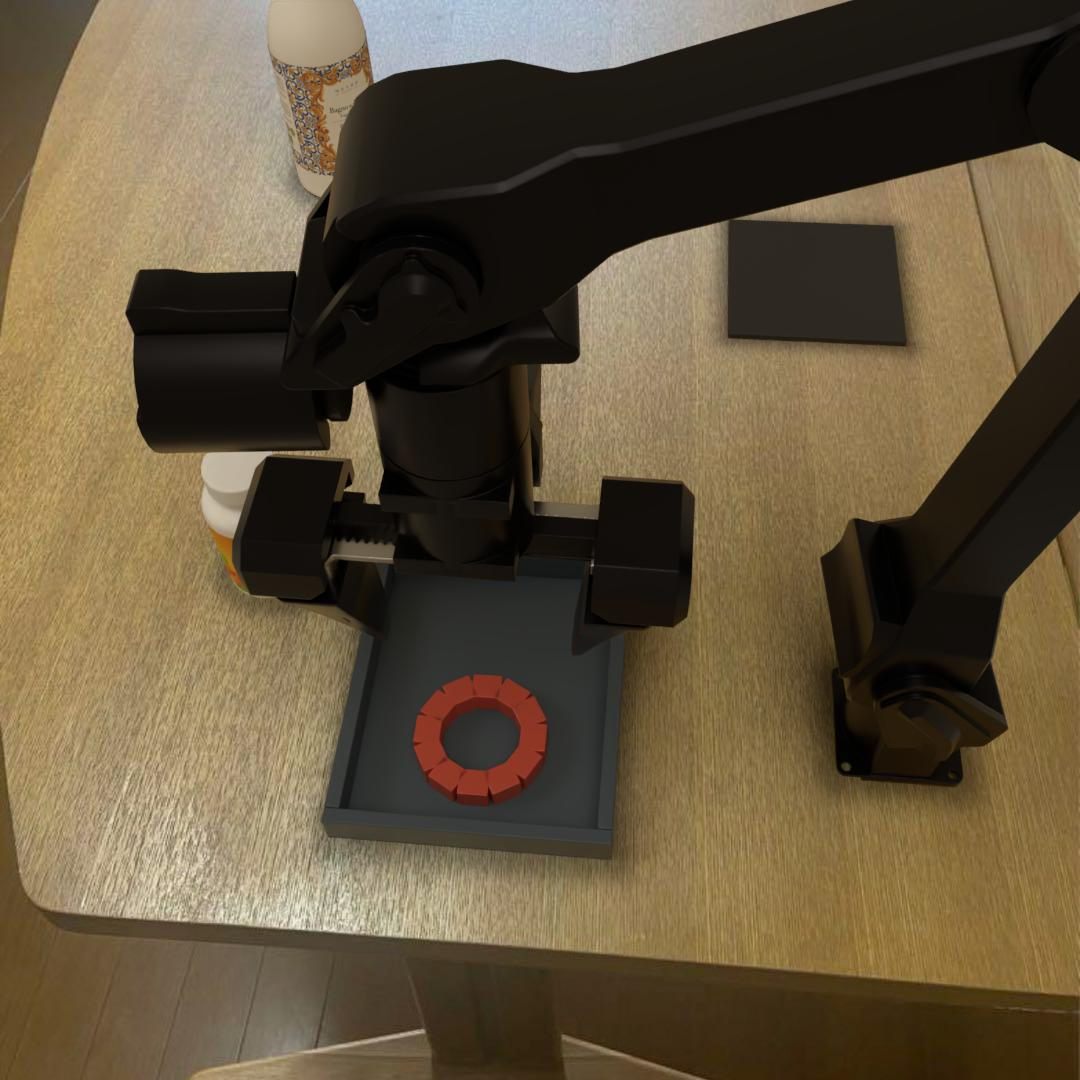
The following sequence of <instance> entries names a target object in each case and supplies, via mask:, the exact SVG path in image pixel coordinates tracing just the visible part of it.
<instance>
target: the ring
mask: <svg viewBox="0 0 1080 1080" xmlns="http://www.w3.org/2000/svg"><path fill="white" fill-rule="evenodd" d="M442 688H443V692H442V691H440V690H437V691H436V692H435V693H434V694H433V696H432V697H431V698H430V699H429V700H428V701H427V703H426V704H425V705H424V706H423V707H422V709H421V710H420V713H421V715H418V716H417V720H416V726H415V732H414V737H413V743H414V751H415V755H416V759H417V761H418V763H419V765H420V768H421V770H422V772H423V775H424V777H425V779H426V782H429V783H430V786H431V787H432V788H433V789H435V790H436V791H438V792H439V793H441V794H442V795H444V796H445V797H446V798H448V799H449V800H451V801H452V802H455V800H456V799H457V798H458V802H459V804H463V805H476V806H489V803H490V798H491V800H492V802H493V804H494V805H496V804H499V803H501V802H503V801H506V800H508V799H510V798H512V797H515V796H517V795H519V794H521V793H522V791H521V787H522V788H524V789H525V790H527V789H528V787H529V786H530V785H531V783H532V782H533V781H534V779H535V778H536V777H537V775H538V774H539V773H540V771H541V770H542V769H543V762H546V754H547V744H548V725H547V719H546V717H545V715H544V713H543V711H542V709H541V707H540V705H539V704H538V702H537V700H536V698H535V696H533V697H531V692H530V691H528V690H526V689H525V688H523V687H522V686H520V685H518V684H517V683H515V682H514V681H512V680H510V679H509V678H507V679H506V680H505V681H504V683H503V676H493V675H479V674H474V677H473V682H472V680H471V678H470V676H469V675H468V676H465V677H463V678H460V679H458V680H455V681H453V682H450V683H448V684H446V685H443V686H442ZM477 708H478V709H492V710H498V711H500V712H501V713H503V714H505V715H506V716H508V717H509V718H511V719H512V720H514V722H515V724H516V726H517V728H518V730H519V732H520V740H519V746H518V748H517V749H516V750H515V751H514V753H513V754H512V755H511V757H510V758H509V759H508V760H507V762H506V763H503V764H501V765H499V766H496V767H494V768H492V769H489V770H487V771H483V770H470V769H464V768H462V767H461V766H459V765H458V764H456V763H455V762H453V761H452V760H450V759H449V758H447V755H446V753H445V751H444V749H443V741H444V734H445V731H446V730H447V728H448V727H449V726H450V725H451V723H452V722H453V721H454V720H455V719H456V717H457V716H460V715H462V714H465V713H467V712H469V711H472V710H474V709H477Z"/></svg>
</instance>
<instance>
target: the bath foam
mask: <svg viewBox="0 0 1080 1080" xmlns="http://www.w3.org/2000/svg"><path fill="white" fill-rule="evenodd" d="M265 26H266V30H265V31H266V32H265V33H266V41H267V42H266V43H267V50H268V54H269V58H270V61H271V66H272V70H273V75H274V79H275V83H276V87H277V91H278V97H279V100H280V104H281V109H282V113H283V119H284V121H285V126H286V130H287V131H286V132H287V134H288V139H289V144H290V147H291V152H292V156H293V160H294V164H295V168H296V172H297V175H298V180H299V181H300V184H302V186H303V187H304V189H305V190H307V191H308V192H309V193H310V194H312V195H313V196H316V197H319V198H321V196H322V195H323V193H324V192H325V190H326V189H327V188H328V186H329V185H330V183H331V182H332V180H333V174H334V167H335V161H336V155H337V148H338V142H339V135H340V131H341V129H342V127H343V124H344V122H345V120H346V118H347V115H348V113H349V111H350V109H351V108H352V107H353V105H354V100H355V98H356V97H357V96H358V95H359V94H360V93H362V92H363V91H364V90H365V89H366V88H367V87H368V86H370V85H372V84H374V83H375V80H374V74H373V73H374V72H373V69H372V62H371V54H370V49H369V44H368V43H369V42H368V37H367V31H366V28H365V24H364V21H363V18H362V15H361V13H360V10H359V8H358V6H357V4H356V2H355V0H270V1H269V4H268V9H267V14H266V25H265Z"/></svg>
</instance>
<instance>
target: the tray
mask: <svg viewBox="0 0 1080 1080" xmlns="http://www.w3.org/2000/svg"><path fill="white" fill-rule="evenodd" d="M375 563H376V562H375ZM376 566H377V569H378V572H379V575H380V578H381V581H382V584H383V587H384V590H385V593H386V596H387V599H388V603H389V610H390V617H391V626H390V631H389V636H388V639H387V640H378V639H376V638H374V637H372V636H370V635H368V634H365V633H363V632H361V631H360V636H359V641H358V646H357V650H356V655H355V659H354V664H353V669H352V674H351V679H350V682H349V688H348V693H347V697H346V702H345V706H344V712H343V716H342V721H341V724H340V725H341V726H340V729H339V735H338V738H337V744H336V749H335V753H334V758H333V763H332V767H331V772H330V777H329V782H328V787H327V791H326V796H325V800H324V805H323V806H324V808H323V811H322V814H321V818H320V822H321V824H322V826H323V828H324V830H325V833H326V835H327V837H328V838H334V839H336V838H337V839H345V840H347V839H349V840H357V841H369V842H370V841H372V842H384V843H397V844H407V845H421V846H430V847H431V846H433V847H445V848H456V849H468V850H469V849H470V850H481V851H494V852H505V853H506V852H507V853H517V854H519V853H520V854H530V855H531V854H532V855H544V856H554V857H566V858H567V857H569V858H577V859H579V858H581V859H590V860H591V859H592V860H593V859H594V860H604V861H611V860H612V858H613V857H612V856H613V844H614V843H613V841H614V827H615V826H614V825H615V810H616V794H617V780H618V776H617V775H618V762H619V747H620V745H619V744H620V731H621V716H622V715H621V713H622V698H623V683H624V682H623V681H624V670H625V669H624V668H625V654H626V653H625V651H626V636H627V633H624V634H622V635H619V636H616V637H614V638H611V639H609V640H606V641H604V642H602V643H600V644H598V645H596V646H595V647H593V648H592V649H590V650H588V651H587V652H585V653H584V654H582V655H580V656H576V655H572V652H571V643H572V634H573V624H574V616H575V611H576V606H577V602H578V597H579V593H580V588H581V584H582V579H583V575H584V570H585V566H586V561H574V560H560V559H546V558H533V557H521V558H519V559H518V565H517V572H516V579H515V582H509V581H495V580H482V579H469V578H455V577H442V576H428V575H415V574H402V573H395V568H394V564H389V563H376ZM474 674H479V675H493V676H503V683H504V681H505V680H506V679H507V678H509V679H510V680H512V681H514V682H515V683H517V684H518V685H520V686H522V687H523V688H525V689H526V690H528V691H530V692H531V697H533V696H535V698H536V700H537V702H538V704H539V705H540V707H541V709H542V711H543V713H544V715H545V717H546V719H547V725H548V744H547V754H546V762H543V769H542V770H541V771H540V773H539V774H538V775H537V777H536V778H535V779H534V781H533V782H532V783H531V785H530V786H529V787H528V789H527V790H525V789H524V788H522V787H521V791H522V793H521V794H519V795H517V796H515V797H512V798H510V799H508V800H506V801H503V802H501V803H499V804H496V805H494V804H493V802H492V800H491V798H490V803H489V806H476V805H463V804H459V802H458V798H457V799H456V800H455V802H452V801H451V800H449V799H448V798H446V797H445V796H444V795H442V794H441V793H439V792H438V791H436V790H435V789H433V788H432V787H431V786H430V783H429V782H426V779H425V777H424V775H423V772H422V770H421V768H420V765H419V763H418V761H417V759H416V755H415V751H414V743H413V737H414V732H415V726H416V720H417V716H418V715H421V713H420V710H421V709H422V707H423V706H424V705H425V704H426V703H427V701H428V700H429V699H430V698H431V697H432V696H433V694H434V693H435V692H436V691H437V690H440V691H442V692H443V688H442V686H443V685H446V684H448V683H450V682H453V681H455V680H458V679H460V678H463V677H465V676H468V675H469V676H470V678H471V680H472V682H473V677H474ZM519 740H520V732H519V730H518V728H517V726H516V724H515V722H514V720H512V719H511V718H509V717H508V716H506V715H505V714H503V713H501V712H500V711H498V710H492V709H478V708H477V709H474V710H472V711H469V712H467V713H465V714H462V715H460V716H457V717H456V719H455V720H454V721H453V722H452V723H451V725H450V726H449V727H448V728H447V730H446V731H445V734H444V741H443V749H444V751H445V753H446V755H447V758H449V759H450V760H452V761H453V762H455V763H456V764H458V765H459V766H461V767H462V768H464V769H470V770H483V771H487V770H489V769H492V768H494V767H496V766H499V765H501V764H503V763H506V762H507V760H508V759H509V758H510V757H511V755H512V754H513V753H514V751H515V750H516V749H517V748H518V746H519Z"/></svg>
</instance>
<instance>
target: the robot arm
mask: <svg viewBox="0 0 1080 1080" xmlns="http://www.w3.org/2000/svg"><path fill="white" fill-rule="evenodd" d="M1039 144H1046V145H1047V146H1049V147H1051V148H1052V149H1055V150H1057V151H1059V153H1063V154H1064V155H1066V156H1068V157H1069V158H1072V159H1073V160H1076V161H1077V162H1079V163H1080V0H848V1H847V0H846V1H844V2H841V3H836V4H832V5H830V6H825V7H823V8H820V9H816V10H811V11H809V12H806V13H802V14H798V15H795V16H792V17H788V18H785V19H781V20H777V21H773V22H771V23H767V24H764V25H760V26H757V27H752V28H749V29H746V30H742V31H738V32H736V33H731V34H729V35H725V36H721V37H718V38H715V39H710V40H707V41H704V42H701V43H697V44H693V45H689V46H687V47H682V48H680V49H676V50H671V51H669V52H665V53H662V54H658V55H654V56H651V57H648V58H644V59H641V60H637V61H634V62H630V63H627V64H624V65H620V66H616V67H608V68H601V69H593V70H586V71H585V70H584V71H576V72H575V71H565V70H560V69H555V68H552V67H546V66H542V65H536V64H532V63H527V62H522V61H517V60H513V59H507V58H499V59H491V60H481V61H475V62H467V63H466V62H465V63H457V64H451V65H442V66H434V67H427V68H425V67H424V68H419V69H418V68H417V69H411V70H406V71H401V72H396V73H395V72H394V73H392V74H390V75H388V76H386V77H384V78H381V79H380V80H378V81H376V82H374V84H372V85H370V86H368V87H367V88H366V89H365V90H364V91H363V92H362V93H360V94H359V95H358V96H357V97H356V98H355V100H354V105H353V107H352V108H351V109H350V111H349V113H348V115H347V118H346V120H345V122H344V124H343V127H342V129H341V131H340V135H339V142H338V148H337V155H336V161H335V167H334V174H333V180H332V182H331V183H330V185H329V186H328V188H327V189H326V190H325V192H324V193H323V195H322V196H321V197H319V199H318V201H316V204H314V206H313V207H312V209H311V211H310V212H309V214H308V215H307V217H306V222H305V228H304V233H303V239H302V246H301V252H300V257H299V263H298V268H297V272H296V270H269V271H268V270H267V271H265V270H264V271H223V272H222V271H221V272H220V271H219V272H216V271H215V272H200V271H199V272H197V271H190V270H183V269H178V268H144V269H142V268H141V269H139V270H138V271H137V272H136V273H135V277H134V279H133V284H132V287H131V290H130V294H129V297H128V301H127V304H126V308H125V312H124V314H125V317H126V319H127V321H128V324H129V326H130V329H131V331H132V333H133V343H132V345H133V348H132V349H133V350H132V365H133V366H132V367H133V381H134V388H135V394H136V403H137V410H136V415H135V419H136V424H137V427H138V430H139V433H140V435H141V437H142V438H143V440H144V442H145V443H146V445H147V446H148V447H149V448H150V449H151V450H152V451H153V452H154V453H157V454H207V453H219V452H273V453H274V452H319V451H321V452H322V451H326V452H327V451H330V450H331V444H332V443H331V441H332V440H331V425H330V423H329V422H332V423H339V422H343V423H344V422H348V421H349V420H350V418H351V414H352V409H353V401H354V388H355V387H358V386H359V385H361V384H363V383H364V385H365V389H366V394H367V398H368V403H369V409H370V412H371V417H372V422H373V423H372V424H373V427H374V433H375V438H376V442H377V447H378V452H379V456H380V461H381V465H382V469H383V470H382V471H383V472H382V476H381V481H380V485H379V489H378V493H377V496H378V501H379V503H369V502H368V503H367V496H366V492H364V491H349V490H347V491H346V489H347V488H349V487H350V486H352V485H353V483H354V480H355V476H356V473H355V468H354V466H353V459H352V458H347V457H331V456H319V455H300V454H289V453H288V454H287V453H274V454H273V455H270V456H266V458H265V459H264V460H263V461H262V462H261V463H260V464H259V465H258V466H257V467H256V468H255V471H254V474H253V477H252V480H251V484H250V487H249V490H248V493H247V496H246V499H245V503H244V506H243V509H242V512H241V515H240V519H239V522H238V525H237V528H236V531H235V534H234V538H233V541H232V563H233V566H234V568H235V570H236V573H237V575H238V577H239V580H240V582H241V584H242V585H243V586H244V588H245V589H246V590H247V591H248V593H249V594H250V595H249V596H251V595H254V596H267V597H275V599H276V601H278V602H279V603H280V604H282V605H285V606H295V607H299V608H302V609H304V610H307V611H310V612H313V613H315V614H317V615H320V616H323V617H326V618H329V619H331V620H334V621H336V622H339V623H341V624H343V625H346V626H348V627H350V628H352V629H355V630H356V631H359V632H360V633H361V632H363V633H365V634H368V635H370V636H372V637H374V638H376V639H378V640H387V639H388V636H389V631H390V626H391V617H390V610H389V603H388V599H387V596H386V593H385V590H384V587H383V584H382V581H381V578H380V575H379V572H378V569H377V566H376V563H389V564H394V568H395V573H402V574H415V575H428V576H442V577H455V578H469V579H482V580H495V581H509V582H515V579H516V572H517V565H518V559H519V558H521V557H533V558H546V559H560V560H574V561H586V566H585V570H584V575H583V579H582V584H581V588H580V593H579V597H578V602H577V606H576V611H575V616H574V624H573V634H572V643H571V652H572V655H576V656H580V655H582V654H584V653H585V652H587V651H588V650H590V649H592V648H593V647H595V646H596V645H598V644H600V643H602V642H604V641H606V640H609V639H611V638H614V637H616V636H619V635H622V634H624V633H626V634H627V633H645V632H648V631H649V630H651V629H653V627H657V628H671V629H674V628H675V627H677V626H678V625H679V624H680V623H682V622H683V621H685V620H686V619H687V618H688V616H689V608H690V601H691V596H692V595H691V594H692V580H693V579H692V578H693V564H694V563H693V558H694V538H695V537H694V534H695V533H694V532H695V511H696V510H695V509H696V497H695V494H694V493H693V492H692V491H691V489H690V488H689V487H688V486H687V485H686V484H685V482H684V481H683V480H678V479H663V478H661V479H660V478H647V477H635V476H633V477H631V476H618V475H617V476H616V475H602V478H601V485H600V495H599V503H598V504H583V503H567V502H555V501H554V502H553V501H538V500H535V499H534V498H535V497H534V496H535V495H534V488H540V487H541V486H542V480H543V479H542V478H543V471H544V446H543V445H544V443H543V422H542V420H541V418H542V366H543V365H570V364H573V363H576V362H577V361H578V360H579V359H580V356H581V333H580V308H579V307H580V300H579V284H580V283H581V282H582V281H583V280H585V279H586V278H587V277H588V276H589V275H590V274H592V273H593V272H594V271H595V270H596V269H597V268H599V267H600V266H601V265H603V263H605V262H606V261H607V260H608V259H609V258H611V257H613V256H614V255H616V254H618V253H621V252H623V251H626V250H628V249H630V248H633V247H636V246H639V245H641V244H643V243H646V242H648V241H651V240H655V239H659V238H663V237H667V236H672V235H676V234H679V233H684V232H687V231H692V230H696V229H699V228H704V227H707V226H708V227H709V226H712V225H716V224H720V223H724V222H729V220H732V219H735V220H737V219H740V218H744V217H748V216H752V215H756V214H757V215H758V214H760V213H764V212H769V211H772V210H776V209H780V208H784V207H788V206H793V205H797V204H801V203H804V202H810V201H814V200H818V199H821V198H826V197H830V196H834V195H838V194H842V193H847V192H849V191H854V190H858V189H861V188H865V187H870V186H874V185H878V184H882V183H886V182H890V181H894V180H898V179H902V178H906V177H910V176H915V175H918V174H922V173H926V172H931V171H934V170H939V169H943V168H947V167H951V166H954V165H959V164H963V163H967V162H971V161H975V160H980V159H983V158H987V157H991V156H995V155H999V154H1003V153H1009V152H1012V151H1015V150H1019V149H1023V148H1027V147H1031V146H1032V147H1033V146H1035V145H1039ZM328 420H329V421H328ZM1079 513H1080V291H1079V292H1078V293H1077V295H1076V296H1075V297H1074V298H1073V300H1072V302H1071V303H1069V306H1068V307H1067V308H1066V309H1065V311H1064V312H1063V314H1062V315H1061V316H1060V317H1059V319H1058V320H1057V322H1056V323H1055V324H1054V326H1053V327H1052V328H1051V330H1049V333H1048V334H1047V335H1046V336H1045V338H1044V339H1043V340H1042V342H1041V343H1040V344H1039V346H1038V347H1037V348H1036V349H1035V351H1034V353H1033V354H1032V355H1031V357H1030V358H1029V359H1028V360H1027V362H1026V363H1025V365H1024V366H1023V367H1022V368H1021V370H1020V372H1019V373H1018V374H1017V375H1016V377H1015V378H1014V380H1013V381H1012V382H1011V383H1010V384H1009V386H1008V388H1007V389H1006V390H1005V392H1004V393H1003V394H1002V395H1001V397H1000V399H998V401H997V402H996V404H995V405H994V406H993V408H992V409H991V411H990V412H989V413H988V415H987V416H985V419H984V420H983V421H982V422H981V423H980V425H979V427H978V428H977V429H976V431H975V432H974V433H973V435H972V436H971V437H970V438H969V440H968V441H967V442H966V444H965V446H964V447H963V448H962V449H961V451H960V452H959V453H958V454H957V456H956V457H955V459H954V460H953V461H952V463H951V464H950V465H949V467H948V468H947V470H946V471H945V473H943V475H942V477H940V479H939V480H938V481H937V483H936V485H935V486H934V487H933V489H932V490H931V491H930V493H929V494H928V495H927V497H926V498H925V499H924V501H923V502H922V504H920V506H919V508H918V509H917V510H916V511H915V512H914V513H913V514H912V515H905V516H901V517H900V516H899V517H894V518H886V519H879V520H874V521H871V520H867V519H863V518H858V517H853V518H851V519H849V520H848V521H847V524H846V526H845V529H844V532H843V534H842V536H841V538H840V540H839V541H838V542H837V543H836V545H834V546H833V548H831V549H830V550H829V551H827V552H826V553H824V554H823V555H821V556H820V557H819V561H820V566H821V573H822V578H823V584H824V590H825V597H826V602H827V608H828V615H829V620H830V627H831V631H832V637H833V643H834V649H835V655H836V661H837V666H836V667H835V668H833V669H832V671H831V675H830V678H831V679H830V681H831V696H832V717H833V732H834V733H833V734H834V735H833V736H834V753H835V754H834V756H835V769H836V771H837V773H838V774H839V775H841V776H842V777H848V778H858V779H859V778H860V780H861V781H871V782H873V781H874V782H886V783H901V784H913V785H927V786H941V787H957V786H959V785H960V784H961V782H962V781H963V779H964V769H963V761H962V753H961V749H962V748H980V747H985V746H988V745H989V744H990V743H992V741H994V740H995V739H997V738H998V737H1000V736H1001V735H1003V734H1004V733H1005V732H1007V731H1008V730H1009V726H1008V722H1007V718H1006V714H1005V710H1004V705H1003V701H1002V698H1001V694H1000V689H999V685H998V683H997V678H996V674H995V670H994V666H993V663H992V659H993V657H994V655H995V652H996V651H995V649H996V645H997V641H998V636H999V635H998V634H999V630H1000V624H1001V619H1002V614H1003V610H1004V605H1005V604H1004V603H1005V599H1006V595H1007V593H1008V592H1009V589H1010V588H1011V586H1012V585H1013V584H1014V583H1015V582H1016V581H1017V580H1018V579H1019V578H1020V577H1021V576H1022V575H1023V573H1025V571H1026V570H1027V569H1028V568H1029V567H1030V566H1031V565H1032V564H1033V563H1034V562H1035V561H1036V559H1037V558H1038V557H1039V556H1041V554H1042V553H1043V552H1044V551H1045V550H1046V549H1047V548H1048V546H1049V545H1050V544H1052V542H1053V541H1054V540H1055V539H1056V538H1057V537H1058V536H1059V535H1060V534H1061V533H1062V531H1063V530H1064V529H1065V528H1066V527H1067V526H1068V525H1069V524H1070V523H1071V522H1072V521H1073V520H1074V519H1075V517H1076V516H1077V515H1078V514H1079ZM254 596H253V597H254ZM837 674H839V677H840V678H839V677H838V675H837ZM843 764H847V765H848V766H849V767H850V769H849V770H845V769H844V768H843V767H842V765H843ZM949 774H952V775H954V776H955V778H952V777H951V776H950V775H949Z"/></svg>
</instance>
